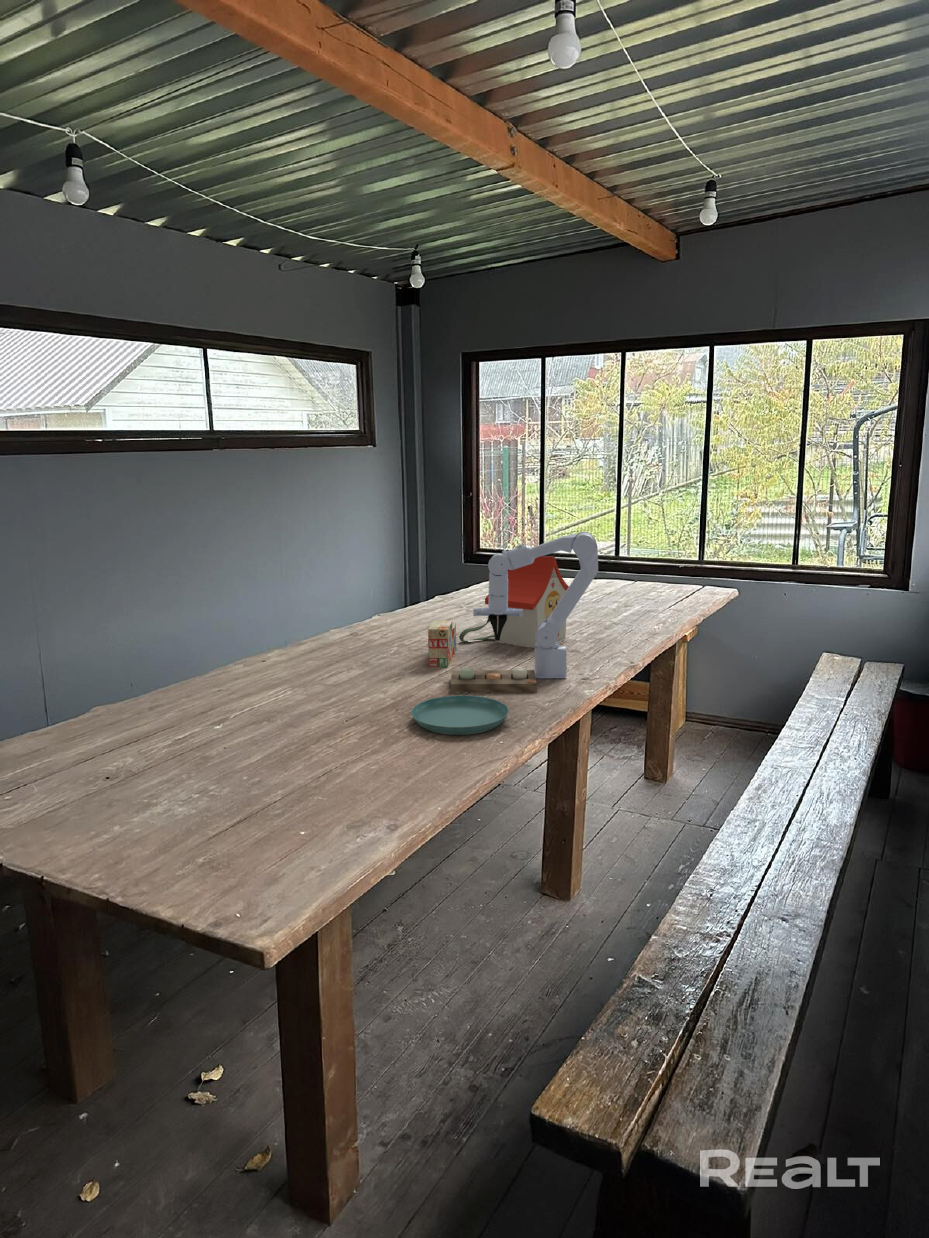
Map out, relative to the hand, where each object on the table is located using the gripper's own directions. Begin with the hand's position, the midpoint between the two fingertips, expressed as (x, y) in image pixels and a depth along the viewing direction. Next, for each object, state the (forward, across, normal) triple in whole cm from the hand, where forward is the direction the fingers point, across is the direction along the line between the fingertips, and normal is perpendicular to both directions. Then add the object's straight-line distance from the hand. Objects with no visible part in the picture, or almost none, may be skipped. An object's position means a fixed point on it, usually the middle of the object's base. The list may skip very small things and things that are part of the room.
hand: (497, 639), depth 250 cm
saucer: (+11, -10, -43) cm, 46 cm away
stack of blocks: (+11, -17, +19) cm, 28 cm away
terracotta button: (+10, -1, -12) cm, 16 cm away
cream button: (+8, +6, -12) cm, 16 cm away
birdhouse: (+11, +10, +45) cm, 47 cm away
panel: (+10, -1, -12) cm, 16 cm away
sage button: (+9, -9, -12) cm, 17 cm away
